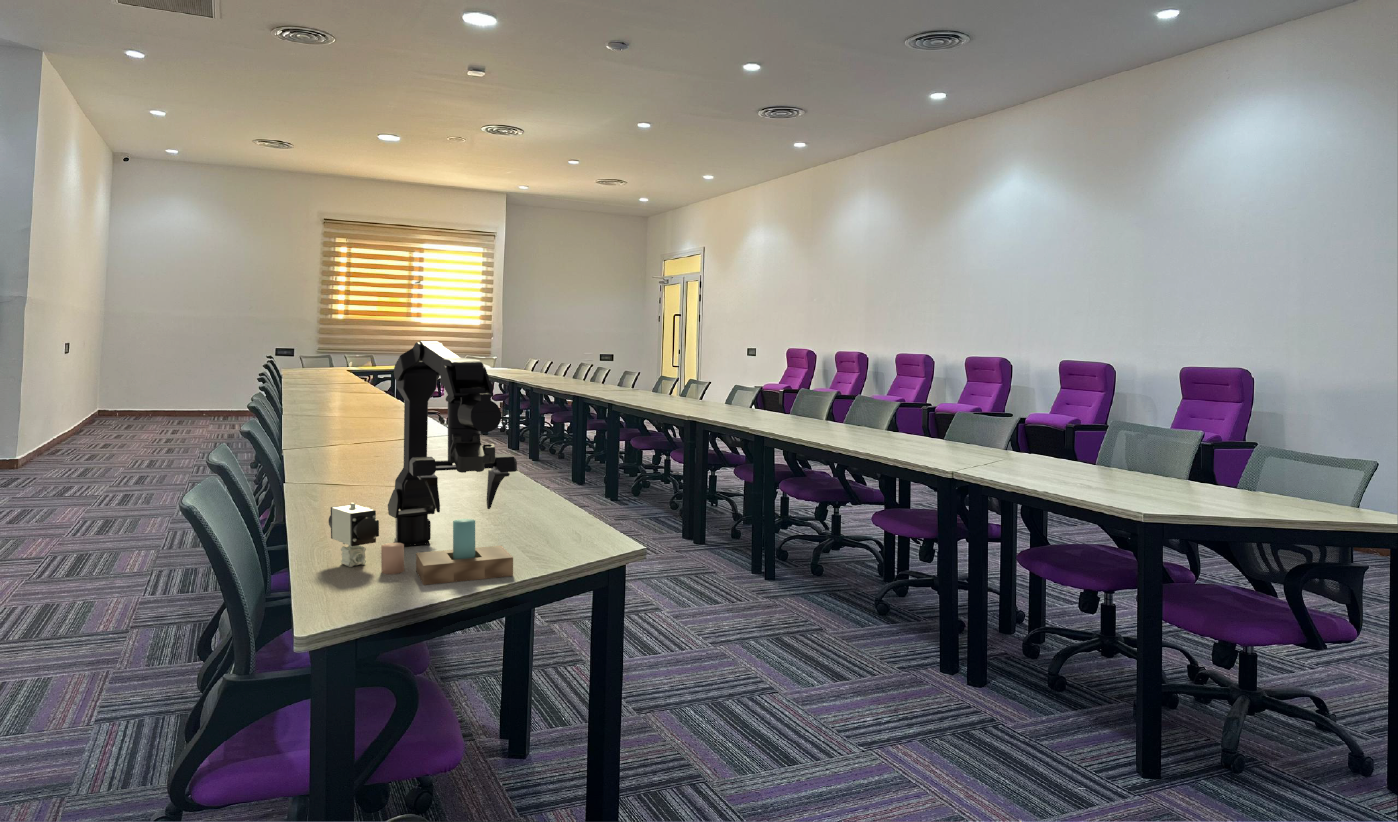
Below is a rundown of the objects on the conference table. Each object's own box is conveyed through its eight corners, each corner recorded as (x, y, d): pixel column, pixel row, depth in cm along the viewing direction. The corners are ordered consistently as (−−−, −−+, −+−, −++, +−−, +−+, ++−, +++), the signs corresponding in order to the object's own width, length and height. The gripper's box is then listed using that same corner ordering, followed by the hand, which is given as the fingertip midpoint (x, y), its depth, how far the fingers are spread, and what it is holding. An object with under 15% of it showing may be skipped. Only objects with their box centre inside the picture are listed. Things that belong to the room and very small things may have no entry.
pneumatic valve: (355, 572, 153) (355, 509, 153) (327, 560, 161) (327, 500, 160) (384, 567, 158) (383, 505, 157) (355, 556, 165) (354, 497, 164)
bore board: (423, 584, 146) (423, 565, 146) (416, 571, 155) (416, 552, 155) (513, 575, 153) (513, 557, 153) (501, 563, 162) (501, 545, 162)
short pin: (382, 575, 152) (382, 548, 152) (380, 569, 156) (380, 543, 155) (405, 573, 154) (405, 546, 154) (402, 567, 158) (402, 542, 157)
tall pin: (455, 577, 152) (455, 523, 151) (451, 571, 155) (451, 519, 154) (477, 575, 153) (477, 522, 153) (473, 569, 157) (473, 518, 156)
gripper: (416, 433, 141) (417, 522, 142) (524, 430, 150) (523, 515, 151) (408, 427, 151) (409, 510, 152) (510, 424, 159) (509, 504, 161)
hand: (463, 510), depth 154 cm, fingers open, 9 cm apart
